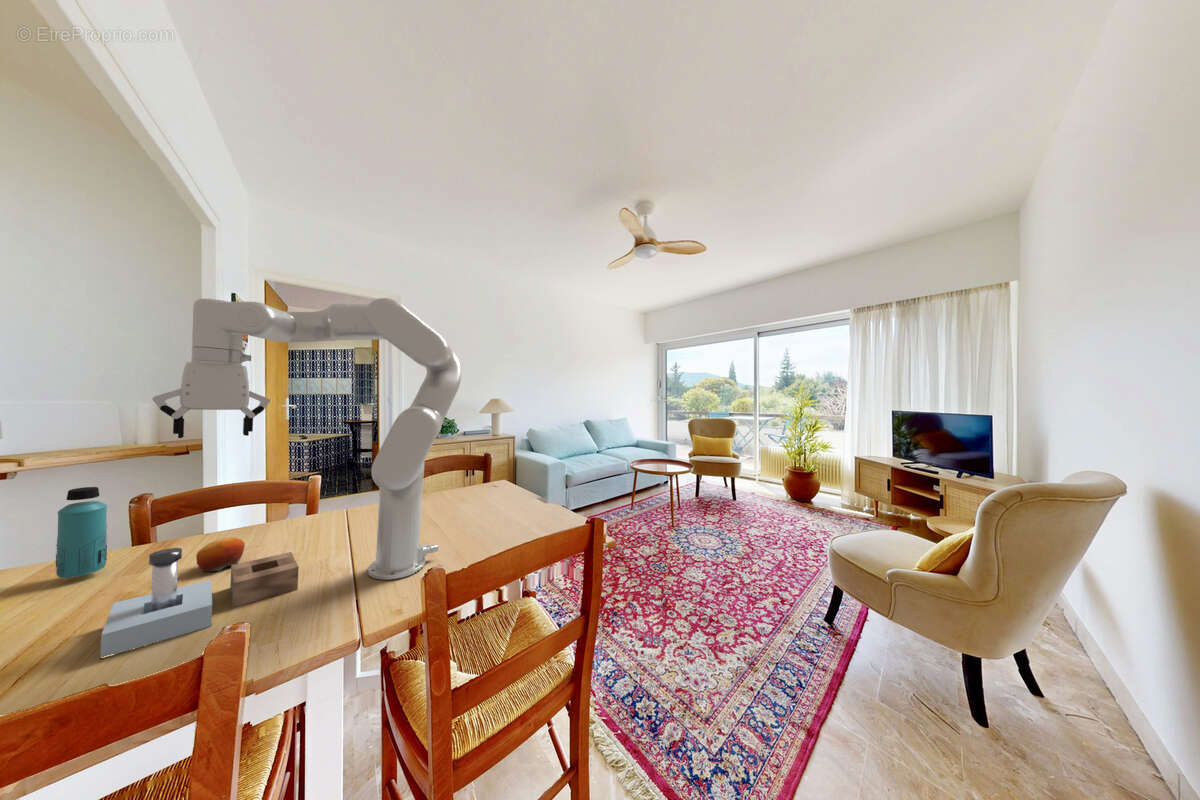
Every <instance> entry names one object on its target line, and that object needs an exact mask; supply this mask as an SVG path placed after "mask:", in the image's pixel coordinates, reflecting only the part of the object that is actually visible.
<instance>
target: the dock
mask: <svg viewBox="0 0 1200 800" xmlns="http://www.w3.org/2000/svg"><path fill="white" fill-rule="evenodd" d="M212 594H213V591H212V580H211V579H209V580H204V581H201V582H195V583H192V584H191V583H190V584H188V585H184V586H178V587H177V606H173V607H169V608H165V609H162V610H158V611H154V612H151V593H150V594H145V595H142V596H138V597H137V596H136V597H132V598H128V599H124V600H121V601H115V602H113V603H112V605H111V608H110V611H109V613H108V616H107V619H106V622H105V624H104V627H103V629H102V632H101V637H100V655H99V656H100V657H104V656H107V655H111V654H117V653H121V652H124V651H127V650H130V649H133V648H137V649H139V648H138V647H141V646H144V645H147V644H150V643H154V642H157V641H160V642H162V641H161V640H164V641H166V640H165V639H167V640H169V638H170V639H173V638H177V637H181V636H182V635H186V634H189V633H193V632H196V631H201V630H203V629H207V628H209V627H212V621H213V620H212V619H213V617H212V616H213V595H212ZM157 643H158V642H157ZM154 644H155V643H154ZM147 646H148V645H147ZM144 647H145V646H144ZM141 648H142V647H141ZM127 652H128V651H127ZM124 653H125V652H124ZM121 654H122V653H121ZM117 655H118V654H117ZM100 657H99V658H100Z"/></svg>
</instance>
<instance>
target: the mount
mask: <svg viewBox="0 0 1200 800" xmlns="http://www.w3.org/2000/svg"><path fill="white" fill-rule="evenodd" d="M238 563H239V564H234V565H230V584H229V585H230V587H229V588H230V589H229V590H230V596H231V603H232V609H234V608H236V607H241V606H244V605H247V604H251V603H254V602H258V601H261V600H265V599H268V598H272V597H275V596H279V595H282V594H285V593H286V594H287V593H289V592H292V591H293V592H294V591H297V590H298V589H299V565H298V563H297V561H296V559H295V557H294V555H293V553H292V551H290V552H284V553H280V554H276V555H270V556H267V557H266V556H265V557H262V558H257V559H253V560H248V561H243V562H238Z"/></svg>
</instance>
